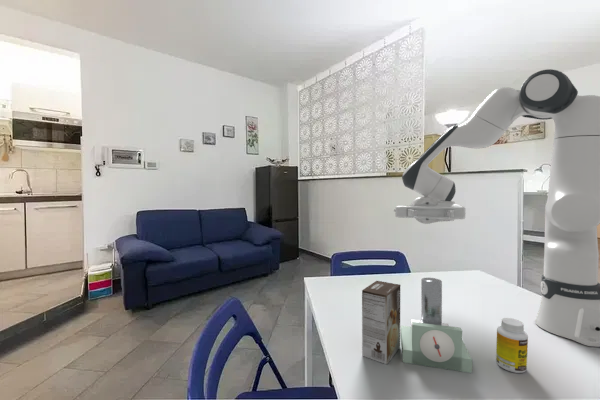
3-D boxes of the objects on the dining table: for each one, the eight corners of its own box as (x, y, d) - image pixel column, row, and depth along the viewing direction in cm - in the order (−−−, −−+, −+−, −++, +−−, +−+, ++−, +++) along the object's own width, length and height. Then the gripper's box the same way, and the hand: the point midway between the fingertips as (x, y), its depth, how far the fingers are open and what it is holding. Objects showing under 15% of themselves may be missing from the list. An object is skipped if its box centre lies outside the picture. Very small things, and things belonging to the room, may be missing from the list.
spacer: (439, 325, 74) (439, 278, 73) (443, 334, 69) (443, 284, 69) (420, 323, 75) (420, 277, 75) (422, 331, 71) (422, 282, 70)
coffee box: (376, 339, 77) (376, 279, 76) (400, 347, 73) (401, 284, 72) (361, 356, 69) (361, 289, 69) (387, 365, 65) (388, 295, 65)
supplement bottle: (520, 377, 61) (522, 330, 61) (491, 364, 66) (492, 320, 65) (531, 368, 64) (532, 323, 64) (502, 356, 69) (503, 313, 68)
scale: (458, 344, 74) (459, 309, 74) (472, 374, 62) (473, 333, 62) (400, 336, 78) (400, 303, 78) (403, 363, 66) (403, 325, 66)
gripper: (393, 200, 102) (394, 203, 89) (459, 201, 96) (470, 203, 83) (393, 218, 102) (394, 223, 89) (458, 220, 96) (470, 226, 83)
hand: (431, 214), depth 86 cm, fingers open, 8 cm apart
